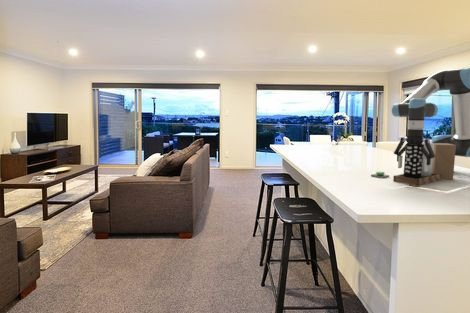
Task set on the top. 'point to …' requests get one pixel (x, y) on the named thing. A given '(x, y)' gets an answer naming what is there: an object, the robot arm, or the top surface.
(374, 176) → the button housing
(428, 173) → the seated billet
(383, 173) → the button
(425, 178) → the divided wooden tray
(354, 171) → the top surface
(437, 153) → the wooden block
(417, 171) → the spotted tube
